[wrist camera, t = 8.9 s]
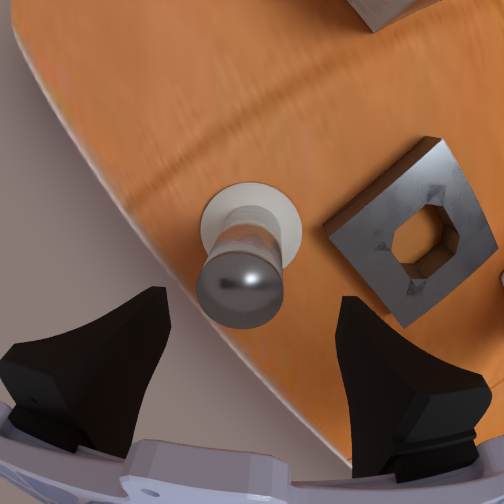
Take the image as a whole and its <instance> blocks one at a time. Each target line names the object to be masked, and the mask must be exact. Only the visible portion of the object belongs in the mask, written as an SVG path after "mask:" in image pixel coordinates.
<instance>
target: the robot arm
mask: <svg viewBox="0 0 504 504" xmlns="http://www.w3.org/2000/svg"><path fill="white" fill-rule="evenodd" d="M501 281H502V284H503V286H504V273H503V274H502V276H501ZM170 330H171V321H170V315H169V308H168V301H167V293H166V287H155V286H152V287H150V288H148V289H146V290H145V291H143V292H141V293H140V294H138V295H137V296H135V297H133V298H132V299H131V300H129V301H128V302H126V303H124V304H123V305H121V306H119V307H118V308H116V309H114V310H113V311H111V312H109V313H108V314H106V315H104V316H102V317H100V318H99V319H97V320H95V321H93V322H91V323H88V324H86V325H84V326H82V327H79V328H77V329H74V330H71V331H68V332H66V333H63V334H60V335H56V336H53V337H50V338H45V339H41V340H36V341H30V342H24V343H16V344H14V345H13V346H12V347H11V348H10V349H9V350H8V352H7V353H6V354H5V355H4V356H3V357H2V359H1V360H0V378H1V380H2V382H3V383H4V385H5V387H6V388H7V390H8V392H9V393H10V395H11V397H12V398H13V400H14V401H15V403H16V405H15V407H14V408H13V409H12V408H11V407H10V406H8V405H7V404H5V403H3V402H1V401H0V476H1V477H2V478H4V479H5V480H7V481H8V482H10V483H11V484H13V485H14V486H16V487H18V488H19V489H21V490H22V491H24V492H26V493H27V494H29V495H30V496H32V497H34V498H36V499H37V500H39V501H41V502H42V503H44V504H504V435H501V436H498V437H495V438H493V439H490V440H487V441H484V442H482V443H480V444H479V445H477V446H475V443H474V441H473V439H475V438H476V436H477V434H476V432H475V429H474V427H475V426H476V424H477V423H478V422H479V420H480V419H481V418H482V416H483V415H484V414H485V412H486V411H487V409H488V407H489V405H490V403H491V400H492V392H491V390H490V388H489V387H488V385H487V383H486V381H485V380H484V378H483V376H482V375H481V374H478V373H474V372H471V371H468V370H465V369H461V368H459V367H456V366H454V365H451V364H449V363H447V362H444V361H442V360H440V359H438V358H436V357H434V356H432V355H430V354H429V353H427V352H425V351H423V350H422V349H420V348H418V347H417V346H415V345H414V344H412V343H411V342H409V341H408V340H406V339H405V338H404V337H402V336H401V335H400V334H399V333H397V332H396V331H395V330H394V329H392V328H391V327H390V326H389V325H388V324H387V323H385V322H384V321H383V320H382V319H381V318H380V317H379V316H378V315H377V314H376V313H375V312H373V311H372V310H371V309H370V308H369V307H368V306H367V305H366V304H365V303H364V302H363V301H362V300H361V299H360V298H359V297H357V296H343V297H342V303H341V308H340V313H339V319H338V324H337V329H336V334H335V341H336V351H337V358H338V362H339V366H340V370H341V374H342V378H343V383H344V387H345V391H346V395H347V400H348V405H349V413H350V424H351V439H352V479H343V480H329V481H301V482H300V481H295V482H294V481H291V471H290V469H289V466H288V464H287V463H285V462H284V461H282V460H280V459H278V458H276V457H274V456H272V455H267V454H261V453H255V452H247V451H234V450H224V449H215V448H206V447H199V446H192V445H185V444H179V443H174V442H168V441H162V440H150V439H143V440H140V441H138V442H136V443H133V444H132V439H133V434H134V430H135V426H136V422H137V418H138V414H139V410H140V407H141V404H142V400H143V397H144V394H145V391H146V389H147V386H148V384H149V382H150V380H151V377H152V375H153V373H154V370H155V369H156V367H157V364H158V362H159V360H160V358H161V356H162V353H163V351H164V349H165V347H166V344H167V340H168V337H169V334H170Z"/></svg>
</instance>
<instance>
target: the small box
mask: <svg viewBox="0 0 504 504" xmlns="http://www.w3.org/2000/svg"><path fill="white" fill-rule="evenodd" d="M347 1H348V3H349V4H350V5H351V6H352V7H353V8H354V9H355V11H356V12H357V13H358V14H359V15H360V17H361V18H362V19H363V20H364V21H365V23H366V24H367V25H368V26H369V28H370V29H371V30H372V31H373V32H374V33H375V32H378V31H379V30H381V29H383V28H384V27H386V26H388V25H390V24H391V23H393V22H395V21H397V20H399V19H401V18H403V17H405V16H407V15H409V14H411V13H414V12H416V11H418V10H420V9H423V8H425V7H427V6H429V5H432V4H434V3H436V2H439V1H441V0H347Z"/></svg>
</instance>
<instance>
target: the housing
mask: <svg viewBox="0 0 504 504" xmlns="http://www.w3.org/2000/svg"><path fill="white" fill-rule="evenodd" d="M425 204H430V205H433V206H434V208H435V209H436V211H437V213H438V214H439V216H440V218H441V219H442V221H443V223H444V229H443V234H442V238H441V242H440V243H438V244H437V245H436V246H435V247H434V248H433V249H432V250H430V251H429V252H428V253H427V254H426V255H425V256H423V257H422V258H421V259H420V260H419V261H417V262H416V263H415V264H405V263H399V262H398V260H397V259H396V258H395V256H394V255H393V254H392V252H391V248H392V242H393V237H394V231H395V230H396V229H398V228H399V227H400V226H401V225H402V224H404V223H405V222H406V221H407V220H408V219H409V218H411V217H412V216H413V215H414V214H415V213H416V212H417V211H419V210H420V209H421V208H422V207H423V206H424V205H425ZM323 226H324V229H325V231H326V234H327V236H328V238H329V239H330V240H331V241H332V243H333V244H334V245H335V246H336V247H337V248H338V249H339V251H340V252H341V253H342V254H343V255H344V256H345V258H346V259H347V260H348V261H349V262H350V263H351V265H352V266H353V267H354V268H355V269H356V270H357V272H358V273H359V274H360V275H361V276H362V278H363V279H364V280H365V281H366V282H367V284H368V285H369V286H370V287H371V288H372V290H373V291H374V292H375V293H376V294H377V296H378V297H379V298H380V299H381V301H382V302H383V303H384V304H385V306H386V307H387V308H388V309H389V311H390V312H391V313H392V314H393V316H394V317H395V318H396V319H397V321H398V322H399V323H400V324H401V326H402V327H403V328H406V327H407V326H409V325H410V324H411V323H413V322H414V321H415V320H417V319H418V318H419V317H420V316H422V315H423V314H424V313H426V312H427V311H428V310H429V309H431V308H432V307H433V306H435V305H436V304H437V303H438V302H439V301H441V300H442V299H443V298H444V297H446V296H447V295H448V294H449V293H450V292H452V291H453V290H454V289H455V288H456V287H457V286H459V285H460V284H461V283H462V282H463V281H464V280H465V279H467V278H468V277H469V276H470V275H471V274H472V273H473V272H474V271H475V270H477V269H478V268H479V267H480V266H481V265H482V264H483V263H484V262H485V261H486V260H487V259H488V258H489V257H490V256H492V255H493V254H494V253H495V252H496V251H497V250H498V249H499V248H498V246H497V243H496V241H495V238H494V236H493V234H492V231H491V229H490V227H489V224H488V222H487V220H486V218H485V215H484V213H483V211H482V209H481V207H480V205H479V203H478V201H477V199H476V197H475V195H474V193H473V191H472V189H471V187H470V185H469V183H468V181H467V179H466V177H465V175H464V174H463V172H462V170H461V168H460V166H459V165H458V163H457V161H456V159H455V158H454V156H453V154H452V153H451V151H450V149H449V148H448V146H447V144H446V143H445V141H444V140H443V139H441V138H436V137H430V136H426V137H424V138H423V139H422V140H421V141H420V142H419V143H418V144H416V145H415V146H414V147H413V148H412V149H411V150H410V151H408V152H407V153H406V154H405V155H404V156H403V157H402V158H400V159H399V160H398V161H397V162H396V163H395V164H394V165H392V166H391V167H390V168H389V169H388V170H387V171H385V172H384V173H383V174H382V175H381V176H380V177H379V178H377V179H376V180H375V181H374V182H373V183H372V184H370V185H369V186H368V187H367V188H366V189H364V190H363V191H362V192H361V193H360V194H359V195H357V196H356V197H355V198H354V199H353V200H352V201H350V202H349V203H348V204H347V205H346V206H344V207H343V208H342V209H341V210H340V211H339V212H337V213H336V214H335V215H334V216H333V217H331V218H330V219H329V220H328V221H327V222H325V223H324V224H323Z"/></svg>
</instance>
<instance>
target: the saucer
mask: <svg viewBox="0 0 504 504" xmlns="http://www.w3.org/2000/svg"><path fill="white" fill-rule="evenodd" d="M246 205H257V206H261V207H263V208H265V209H267V210H269V211H270V212H271V213H272V214H274V216H275V217H276V218H277V220H278V222H279V224H280V228H281V242H282V266H283V269H284V268H285V267H286V266H287V265H288V264H289V263H290V262H291V261H292V260H293V259H294V257H295V256H296V254H297V252H298V250H299V247H300V244H301V239H302V226H301V220H300V217H299V214H298V211H297V209H296V207H295V206H294V204H293V203H292V201H291V200H290V199H289V198H288V197H287V196H286V195H285V194H284V193H282V192H281V191H280V190H278V189H276V188H274V187H273V186H270V185H267V184H264V183H260V182H242V183H237V184H234V185H231V186H229V187H227V188H225V189H223V190H222V191H220V192H219V193H218V194H217V195H216V196H215V197H214V198H213V199H212V200H211V201H210V203H209V204H208V206H207V207H206V209H205V211H204V213H203V217H202V220H201V230H200V232H201V239H202V243H203V246H204V248H205V251H206V252H207V254H208V256H209V253H210V251H211V249H212V247H213V245H214V243H215V241H216V239H217V237H218V235H219V232H220V230H221V228H222V226H223V224H224V222H225V220H226V218H227V217H228V215H229V214H230V213H231V212H232V211H234V210H235V209H237V208H239V207H242V206H246Z"/></svg>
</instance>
